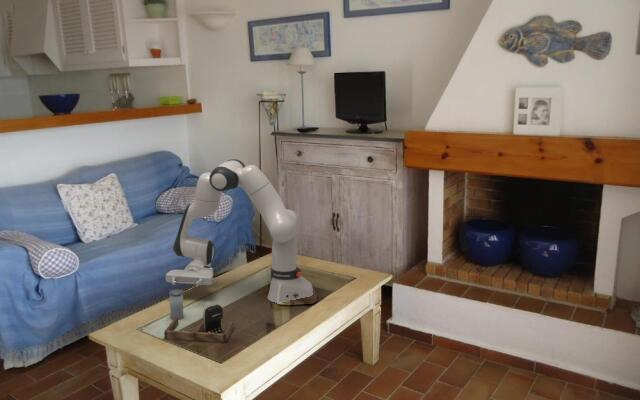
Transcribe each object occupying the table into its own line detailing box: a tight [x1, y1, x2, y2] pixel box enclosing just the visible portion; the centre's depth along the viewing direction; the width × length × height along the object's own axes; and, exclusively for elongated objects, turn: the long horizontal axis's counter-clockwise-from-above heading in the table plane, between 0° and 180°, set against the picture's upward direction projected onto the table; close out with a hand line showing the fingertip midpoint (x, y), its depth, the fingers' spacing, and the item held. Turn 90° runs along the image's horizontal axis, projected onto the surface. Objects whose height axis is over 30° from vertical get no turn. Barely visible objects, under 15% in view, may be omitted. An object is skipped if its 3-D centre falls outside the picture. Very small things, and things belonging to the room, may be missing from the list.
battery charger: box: [203, 303, 224, 334], centre depth 204 cm, size 7×4×11 cm, turn 134°
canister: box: [168, 288, 184, 321], centre depth 218 cm, size 5×5×11 cm
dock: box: [163, 317, 235, 343], centre depth 206 cm, size 23×13×3 cm, turn 86°
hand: (184, 284), depth 229 cm, fingers open, 8 cm apart
